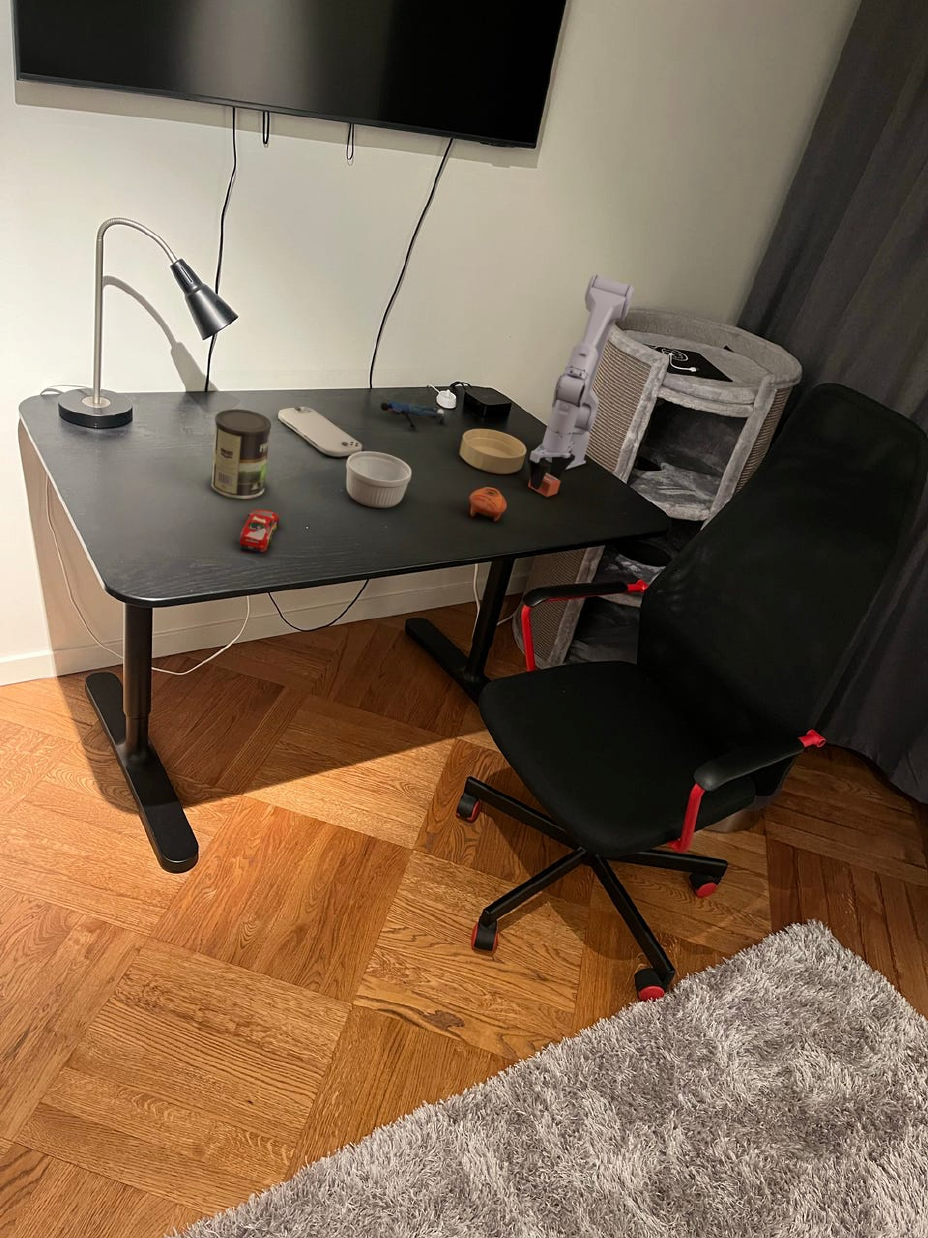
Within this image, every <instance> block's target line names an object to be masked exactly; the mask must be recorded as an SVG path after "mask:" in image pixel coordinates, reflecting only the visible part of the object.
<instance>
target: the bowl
mask: <svg viewBox="0 0 928 1238" xmlns="http://www.w3.org/2000/svg"><path fill="white" fill-rule="evenodd" d="M459 455H460V457H461V458H462V460H464V461H465V462H466V463H467V464H469V466H472V467H473V468H476V469H478V470H480V471H483V472H486V473H490V474H499V475H508V474H513V473H516V472H519V471H520V470H521V469H522V468H523V465H524V462H525V458H526V455H527V447H526V446H525V444H524V443H523V442H522V441H521V440H519V439H518V438H516V437H514V436H512V435H510V434H507V433H505V432H501V431H499V430H495V429H489V428H488V429H487V428H473V429H469V430H466V431H464V433H463V435H462V438H461V443H460V446H459Z"/></svg>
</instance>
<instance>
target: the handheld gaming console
mask: <svg viewBox="0 0 928 1238" xmlns="http://www.w3.org/2000/svg"><path fill="white" fill-rule="evenodd" d="M277 418H278V419H279V420H280V422H281V423H282V424H283V425H285V426H286V427H287V428H288V429H290V431H293V432H294V433H296V435H298V436H299V437H300V438H302V439H303V440H304V441H305V442H307V443H308V444H310V445H311V446H312V447H313V448H315V449H316V450H317V451H318V452H320V453H321V454H323V455H325V456H326V457H329V458H333V459H342V458H349V457H350V456H351V455H352V454H354V453H358V452H364V445H363V443H362V442H360V441H358V440H356V439H354V438H353V437H352V436H351V435H349V433H346V432H345V431H344V430H342V429H341V428H340V427H338V426H337V425H335V424H334V423H332V422H331V421H330V420H328V419H327V418H326V417H324V416H323V415H321V414H320V413H319V412H318V411H317V410H316V409H314V408H311V407H307V406H296V407H289V408H288V407H287V408H283V409H281V410H279V412H278V416H277Z"/></svg>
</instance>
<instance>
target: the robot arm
mask: <svg viewBox="0 0 928 1238" xmlns="http://www.w3.org/2000/svg"><path fill="white" fill-rule="evenodd" d="M634 294H635V287H634V285H633V284H627V283H624V282H620V281H617V280H614V279H611V278H607V277H604V276H600V275H599V274H596V273H595V274H593V275H592V276H591V278H590V279H589V281H588V284H587V287H586V290H585V294H584V303H585V309H586V311H588V312H589V314H588V318H587V321H586V323H585V324H586V325H585V328H584V332H583V335H582V339H581V342H579V343H577V344H575V345H574V346H573V347H572V350H571V353H570V355H569V357H568V360H567V363H566V365H565V367H564V370H563V373H562V374H560V375H559V376H558V378H557V381H556V384H555V386H554V390H553V398H552V403H551V408H552V409H551V411H550V415H549V418H548V422H547V425H546V430H545V432H544V435H543V440H542V442H541V444H539V445H538V446H537V447H536V448H535V449H534V450H531V452H530V454H528V455H527V462H528V466H529V475H530V477H529V480H530V486H531V487H533V488H535V489H536V490H538V489H539V488H540V486H541V484H542V481H543V479H544V476H545V475H546V473H547V474H549V475H551V476H553V477H555V478H556V479H558V480H560V481H561V478H562V476H563V475H564V473H565V471H566V470H568V469H572V468H575V467H578V466H581V465H585V464H586V463H587V461H586V460H585V456H586V453H587V449H588V446H589V443H590V439H591V434H590V431H591V430H592V429H593V426H594V424H595V421H596V418H597V415H598V412H599V411H598V410H599V407H600V399H599V397H598V396H597V395H596V393H595V392H594V390H593V387H594V384H595V381H596V377H597V375H598V371H599V368H600V365H601V361H602V360H603V359H602V358H603V357H604V353H605V350H606V347H607V343H608V339H609V337H610V334H611V330H612V328H613V327H614V325H615V324H616V322H623V321H625V318H627V316H628V312H629V309H630V306H631V303H632V301H633V298H634ZM548 471H549V473H548Z"/></svg>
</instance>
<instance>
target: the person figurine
mask: <svg viewBox="0 0 928 1238" xmlns="http://www.w3.org/2000/svg"><path fill="white" fill-rule="evenodd" d="M379 406H380V410H382V411H384V412H387V411H389V409H390V410H392V411H393V413H396V414H397V415H400V414H402V415H403V416H405V417H406V419H407V421H408V422H409V428H410V429H411V430H412V431H416V428H417V427H416V426H415V425H414V423H413V422H412V420H411V417H410V415H412V416H415V417H433V418H437V417H438V418H439V421H440V422H439V423H440V425H442V424H444V422H445V418H446V413H444V410H443V409H441V408H440V409H439V407H437V406H434V407H433V406H426V405H422V406H418V405H415V404H411V403H404V404H401V403H397V402H396V401H395V400H390V401H388V402H387V403H386V402H382V403H380V405H379Z"/></svg>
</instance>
